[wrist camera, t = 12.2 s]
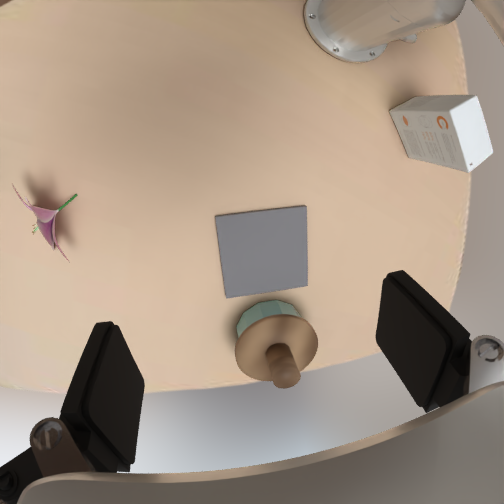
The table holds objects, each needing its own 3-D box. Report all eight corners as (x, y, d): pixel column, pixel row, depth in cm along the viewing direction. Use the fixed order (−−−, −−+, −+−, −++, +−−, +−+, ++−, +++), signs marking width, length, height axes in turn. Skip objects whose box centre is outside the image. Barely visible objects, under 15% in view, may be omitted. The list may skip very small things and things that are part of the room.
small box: (434, 141, 39) (494, 153, 27) (407, 158, 40) (468, 175, 28) (415, 95, 36) (477, 93, 24) (387, 110, 37) (449, 110, 25)
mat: (305, 205, 40) (306, 206, 40) (306, 284, 45) (307, 285, 45) (215, 215, 39) (215, 217, 39) (225, 296, 44) (226, 298, 43)
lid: (317, 307, 41) (334, 335, 35) (314, 368, 46) (327, 397, 40) (230, 321, 40) (235, 353, 34) (239, 382, 44) (245, 413, 38)
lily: (33, 160, 33) (-15, 199, 26) (87, 155, 30) (31, 201, 23) (60, 228, 41) (23, 270, 34) (114, 236, 38) (74, 287, 31)
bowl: (300, 295, 46) (310, 313, 41) (300, 346, 50) (308, 365, 45) (233, 306, 45) (237, 326, 40) (240, 356, 49) (244, 377, 44)
